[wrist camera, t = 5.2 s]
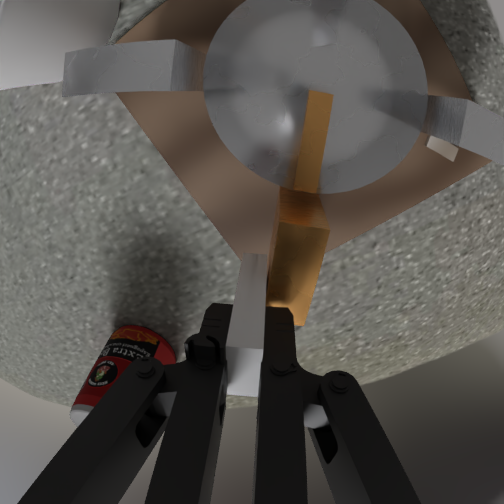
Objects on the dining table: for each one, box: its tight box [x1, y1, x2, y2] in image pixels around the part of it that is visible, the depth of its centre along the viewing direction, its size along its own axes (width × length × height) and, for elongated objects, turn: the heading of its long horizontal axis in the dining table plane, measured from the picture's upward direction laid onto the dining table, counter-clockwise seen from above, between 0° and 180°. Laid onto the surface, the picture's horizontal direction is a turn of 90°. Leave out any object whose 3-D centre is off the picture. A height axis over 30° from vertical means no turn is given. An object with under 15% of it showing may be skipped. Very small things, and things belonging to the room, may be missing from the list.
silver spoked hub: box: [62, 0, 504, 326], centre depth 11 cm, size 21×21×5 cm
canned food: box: [70, 325, 176, 427], centre depth 25 cm, size 8×8×11 cm
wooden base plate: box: [115, 0, 492, 261], centre depth 15 cm, size 20×20×4 cm
